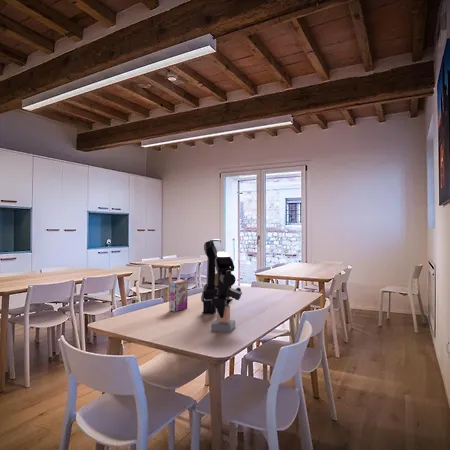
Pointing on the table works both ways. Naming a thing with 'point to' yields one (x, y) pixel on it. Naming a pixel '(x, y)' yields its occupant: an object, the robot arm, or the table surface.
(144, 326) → the table surface
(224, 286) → the robot arm
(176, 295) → the candy bar box
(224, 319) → the cube
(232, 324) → the plinth
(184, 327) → the table surface
